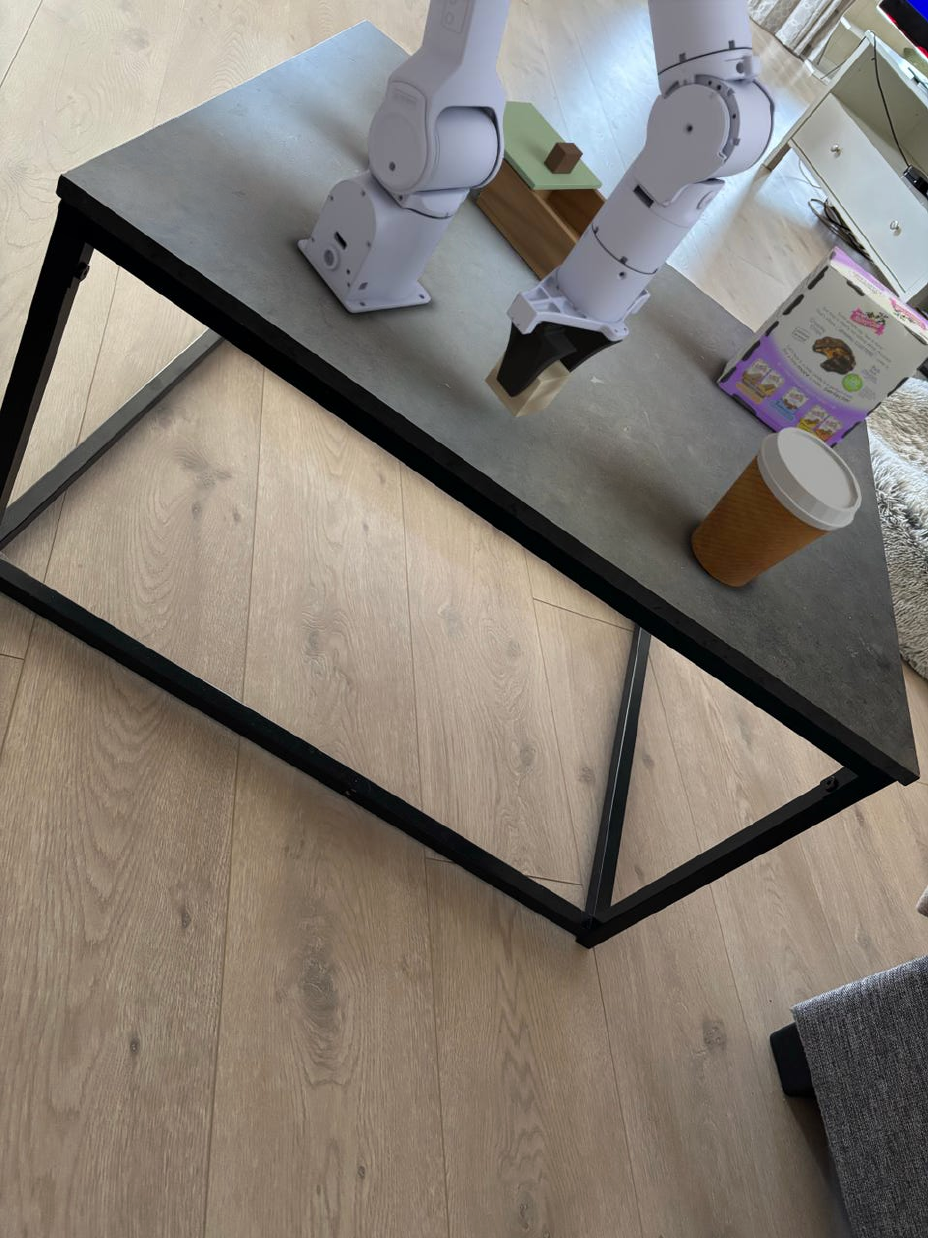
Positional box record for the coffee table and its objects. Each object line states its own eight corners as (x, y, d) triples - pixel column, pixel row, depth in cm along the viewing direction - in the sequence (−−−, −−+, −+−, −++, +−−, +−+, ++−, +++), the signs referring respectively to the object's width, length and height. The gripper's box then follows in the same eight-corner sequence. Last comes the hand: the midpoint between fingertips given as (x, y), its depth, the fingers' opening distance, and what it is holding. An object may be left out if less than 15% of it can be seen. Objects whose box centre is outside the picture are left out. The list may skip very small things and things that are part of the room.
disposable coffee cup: (745, 621, 81) (853, 536, 73) (660, 544, 81) (758, 450, 73) (774, 568, 88) (876, 484, 79) (696, 497, 88) (789, 406, 80)
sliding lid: (532, 190, 94) (549, 163, 91) (456, 101, 96) (470, 73, 94) (599, 188, 101) (616, 163, 99) (528, 107, 104) (542, 81, 102)
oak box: (550, 290, 96) (579, 247, 92) (475, 202, 98) (501, 156, 95) (614, 281, 104) (644, 241, 100) (543, 199, 106) (570, 158, 103)
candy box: (821, 440, 107) (943, 330, 95) (814, 465, 103) (941, 353, 91) (725, 362, 106) (837, 241, 95) (714, 384, 102) (829, 260, 90)
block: (514, 418, 76) (541, 382, 73) (484, 380, 76) (509, 343, 74) (544, 409, 78) (572, 374, 76) (515, 373, 79) (541, 337, 76)
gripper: (602, 295, 61) (495, 438, 71) (713, 278, 71) (606, 405, 80) (535, 216, 62) (439, 367, 72) (653, 210, 72) (555, 343, 82)
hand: (523, 383), depth 76 cm, fingers closed on block, 4 cm apart
